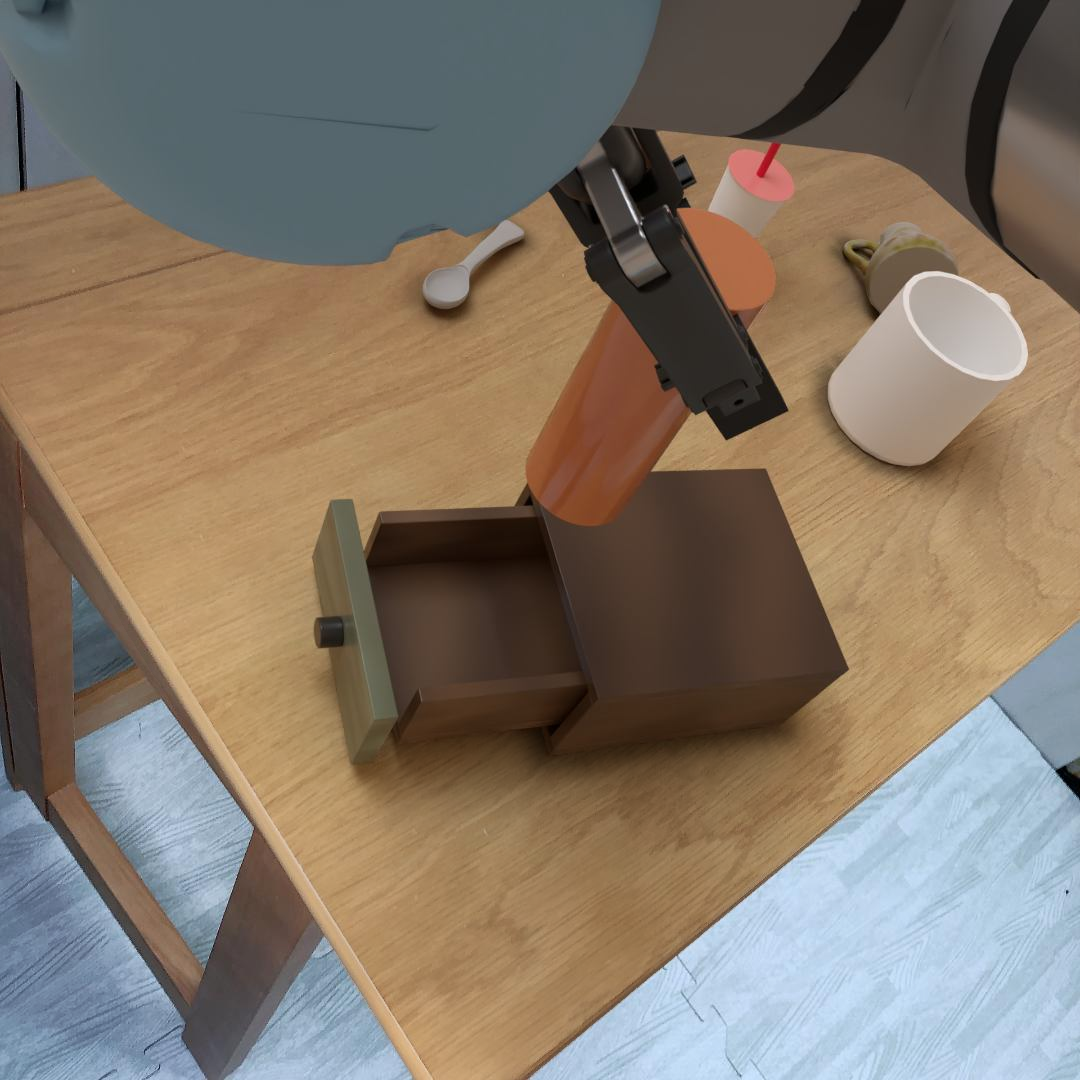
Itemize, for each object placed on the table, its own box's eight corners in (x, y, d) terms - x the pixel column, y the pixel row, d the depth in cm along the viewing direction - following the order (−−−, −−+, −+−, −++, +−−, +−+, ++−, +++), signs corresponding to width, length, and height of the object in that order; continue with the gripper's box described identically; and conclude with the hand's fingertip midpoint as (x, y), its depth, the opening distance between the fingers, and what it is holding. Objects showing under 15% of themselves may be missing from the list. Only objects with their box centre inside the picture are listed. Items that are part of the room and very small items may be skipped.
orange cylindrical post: (624, 540, 51) (776, 328, 40) (518, 507, 50) (644, 281, 39) (632, 454, 54) (776, 235, 43) (532, 422, 53) (653, 189, 42)
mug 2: (897, 488, 84) (985, 401, 76) (801, 392, 87) (877, 298, 79) (977, 422, 92) (1065, 336, 84) (887, 335, 94) (964, 244, 86)
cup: (664, 245, 91) (734, 121, 81) (710, 231, 94) (782, 110, 84) (706, 294, 89) (782, 174, 80) (751, 278, 92) (830, 160, 83)
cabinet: (548, 756, 64) (598, 698, 58) (491, 545, 70) (530, 474, 64) (782, 724, 70) (849, 669, 64) (711, 533, 76) (765, 467, 70)
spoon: (408, 299, 78) (417, 277, 77) (494, 228, 86) (503, 207, 85) (444, 324, 78) (453, 303, 77) (526, 250, 86) (535, 230, 85)
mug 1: (921, 261, 102) (1004, 230, 92) (873, 351, 100) (953, 329, 90) (860, 209, 99) (938, 172, 90) (810, 300, 97) (885, 272, 88)
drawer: (327, 769, 58) (349, 723, 54) (290, 557, 64) (307, 499, 59) (604, 732, 64) (645, 688, 60) (548, 543, 70) (581, 490, 66)
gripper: (275, -207, 33) (588, 245, 52) (404, 261, 24) (718, 590, 44) (503, -371, 31) (739, 163, 50) (729, 77, 22) (906, 508, 42)
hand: (729, 361), depth 47 cm, fingers closed on orange cylindrical post, 5 cm apart
